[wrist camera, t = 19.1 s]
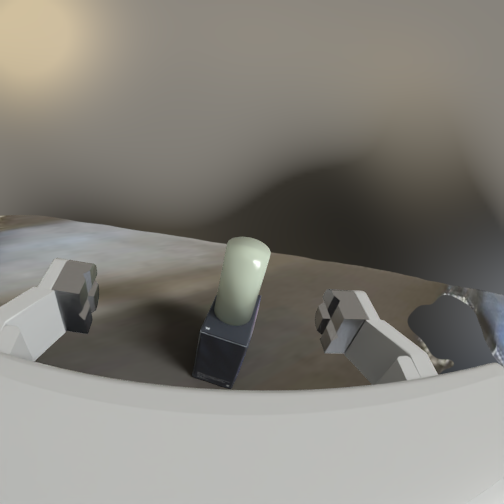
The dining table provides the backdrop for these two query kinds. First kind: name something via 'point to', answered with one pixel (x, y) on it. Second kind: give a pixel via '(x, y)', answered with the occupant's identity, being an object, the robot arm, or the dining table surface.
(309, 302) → the dining table surface
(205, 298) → the dining table surface
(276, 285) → the dining table surface
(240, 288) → the pale green tall cylinder
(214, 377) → the small box
